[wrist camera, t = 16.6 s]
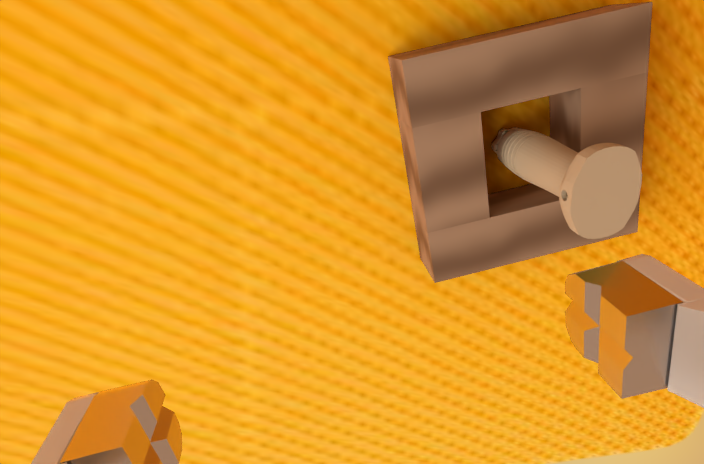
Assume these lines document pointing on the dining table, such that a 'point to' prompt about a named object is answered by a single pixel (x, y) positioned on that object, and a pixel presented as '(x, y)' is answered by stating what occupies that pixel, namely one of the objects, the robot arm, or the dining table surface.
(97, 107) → the dining table surface
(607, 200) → the handle
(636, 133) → the socket block
